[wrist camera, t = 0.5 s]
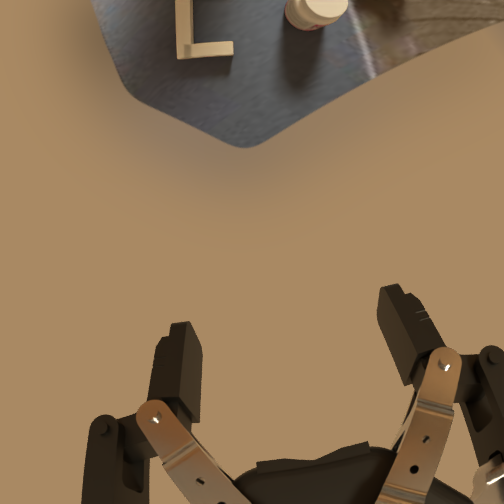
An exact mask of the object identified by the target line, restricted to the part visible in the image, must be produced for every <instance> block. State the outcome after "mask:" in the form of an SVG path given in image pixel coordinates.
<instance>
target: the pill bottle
mask: <svg viewBox="0 0 504 504" xmlns="http://www.w3.org/2000/svg"><path fill="white" fill-rule="evenodd" d="M347 6H348V0H288V1H287V3H286V6H285V16H286V18H287V20H288V21H289V23H290V24H291V25H293V26H294V27H295V28H297V29H300V30H304V31H312V30H316V29H318V28H321V27H323V26H326V25H328V24H331V23H333V22H335V21H336V20H337V19H338V18H339V17H340V16H341V15H342V14H343V13H344V12H345V11H346V9H347Z"/></svg>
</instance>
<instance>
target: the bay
mask: <svg viewBox="0 0 504 504" xmlns="http://www.w3.org/2000/svg"><path fill="white" fill-rule="evenodd" d="M175 13H176V45H177V59H181V60H182V59H191V58H202V57H215V56H233V41H226V42H210V43H198V44H194V33H193V0H175Z"/></svg>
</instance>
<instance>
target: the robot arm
mask: <svg viewBox="0 0 504 504" xmlns="http://www.w3.org/2000/svg"><path fill="white" fill-rule="evenodd" d="M377 320H378V324H379V326H380V329H381V331H382V333H383V335H384V338H385V340H386V342H387V345H388V347H389V350H390V352H391V354H392V357H393V359H394V362H395V364H396V367H397V369H398V372H399V374H400V377H401V379H402V381H403V384H404V386H407V385H410V384H413V387H414V389H415V390H414V392H413V395H412V397H411V400H410V403H409V406H408V409H407V411H406V414H405V417H404V419H403V422H402V424H401V427H400V429H399V431H398V433H397V435H396V438H395V439H394V441H393V444H392V446H391V448H390V450H389V449H386V448H382V447H373V446H372V447H369V444H368V441H367V442H363V443H359V444H355V445H352V446H347V447H343V448H340V449H338V450H336V451H334V452H332V453H330V454H327V455H325V456H323V457H321V458H318V459H316V460H295V459H277V460H269V461H260V462H257V463H256V464H257V467H256V468H253V469H251V470H249V471H247V472H245V473H243V474H242V475H240V476H239V477H238V478H237V479H235V480H234V479H233V478H232V477H231V476H230V475H229V474H228V473H227V472H226V471H225V470H224V469H223V468H222V467H221V466H220V465H219V464H218V463H217V461H216V460H215V459H214V458H213V457H212V456H211V455H210V454H209V452H208V451H207V450H206V449H205V448H204V447H203V446H202V444H201V443H200V442H199V441H198V440H197V438H196V437H195V436H194V435H193V434H192V432H191V425H192V423H199V422H200V400H201V378H202V357H203V354H202V347H201V344H200V342H199V340H198V337H197V335H196V333H195V331H194V329H193V327H192V325H191V323H190V322H189V321H187V322H179V323H172V324H171V327H170V333H169V336H166V337H162V338H161V340H160V341H159V343H158V345H157V346H156V350H155V355H154V361H153V368H152V373H151V379H150V386H149V392H148V397H147V401H146V402H145V403H144V404H142V405H141V406H140V408H139V409H138V411H137V412H136V413H135V414H132V415H129V416H126V417H123V418H120V419H115V418H114V417H113V416H111V415H101V416H98V417H97V418H96V419H94V421H93V422H92V423H91V426H90V430H89V436H88V443H87V450H86V458H85V467H84V476H83V489H82V501H81V504H149V466H150V464H149V463H150V458H153V457H156V456H159V457H160V459H161V460H162V461H163V464H162V465H163V467H164V469H165V471H166V472H167V474H168V475H169V476H170V478H171V479H172V480H173V482H174V483H175V484H176V486H177V487H178V488H179V490H180V491H181V492H182V493H183V495H184V496H185V497H186V498H187V500H188V501H189V502H190V503H191V504H504V351H503V350H502V349H500V348H499V347H497V346H492V345H491V346H486V347H484V348H483V349H482V350H481V352H480V354H474V355H460V354H458V353H457V352H456V351H455V350H454V349H452V348H449V347H447V346H446V345H445V344H444V342H443V340H442V338H441V336H440V334H439V333H438V331H437V329H436V327H435V326H434V324H433V322H432V320H431V319H430V318H429V315H428V313H427V312H426V311H425V308H424V306H423V305H422V303H421V301H420V300H419V299H418V298H416V297H415V296H414V295H413V294H411V293H408V294H404V292H403V290H402V288H401V287H400V285H399V284H393V285H388V286H385V287H381V288H380V293H379V300H378V307H377ZM453 403H459V404H460V406H461V410H462V412H463V415H464V418H465V421H466V424H467V427H468V430H469V433H470V436H471V440H472V443H473V446H474V450H475V453H476V457H477V460H478V464H479V468H478V469H477V471H476V472H475V475H474V478H473V492H472V495H471V497H470V498H468V497H467V496H465V495H463V494H462V493H460V492H458V491H457V490H455V489H453V488H452V487H450V486H448V485H447V484H445V483H443V482H442V481H440V480H438V479H437V478H435V477H434V475H435V472H436V470H437V467H438V464H439V462H440V459H441V456H442V453H443V450H444V447H445V444H446V441H447V438H448V434H449V431H450V428H451V424H452V421H453V417H454V410H452V406H453Z"/></svg>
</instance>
